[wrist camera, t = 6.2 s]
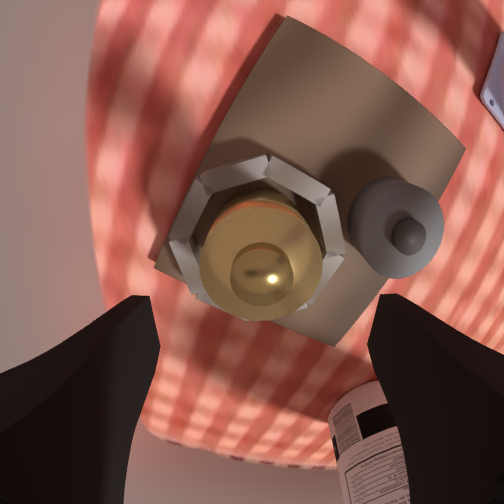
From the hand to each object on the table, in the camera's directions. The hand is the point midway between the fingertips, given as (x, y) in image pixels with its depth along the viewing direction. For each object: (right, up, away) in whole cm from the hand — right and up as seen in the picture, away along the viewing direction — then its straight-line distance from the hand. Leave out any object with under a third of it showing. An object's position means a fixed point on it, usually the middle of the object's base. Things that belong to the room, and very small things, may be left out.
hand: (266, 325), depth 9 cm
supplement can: (+10, -12, +14) cm, 21 cm away
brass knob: (0, +3, +7) cm, 8 cm away
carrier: (+3, +5, +7) cm, 9 cm away
